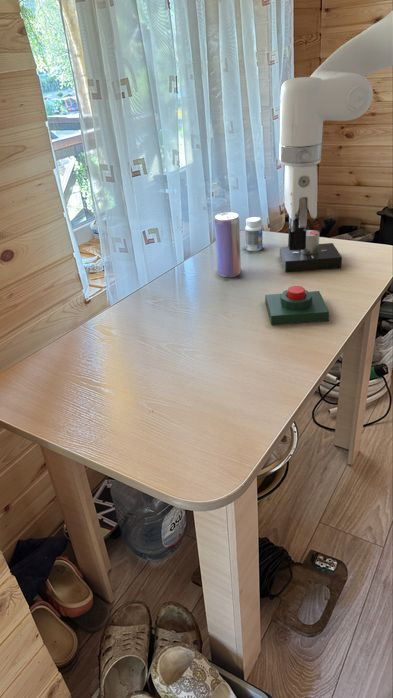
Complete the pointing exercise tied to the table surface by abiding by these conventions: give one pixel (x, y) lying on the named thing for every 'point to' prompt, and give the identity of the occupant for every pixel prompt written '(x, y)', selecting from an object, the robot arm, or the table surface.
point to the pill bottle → (253, 234)
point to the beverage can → (228, 244)
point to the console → (311, 259)
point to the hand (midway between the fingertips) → (296, 248)
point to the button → (296, 293)
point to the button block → (296, 308)
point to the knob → (311, 242)
